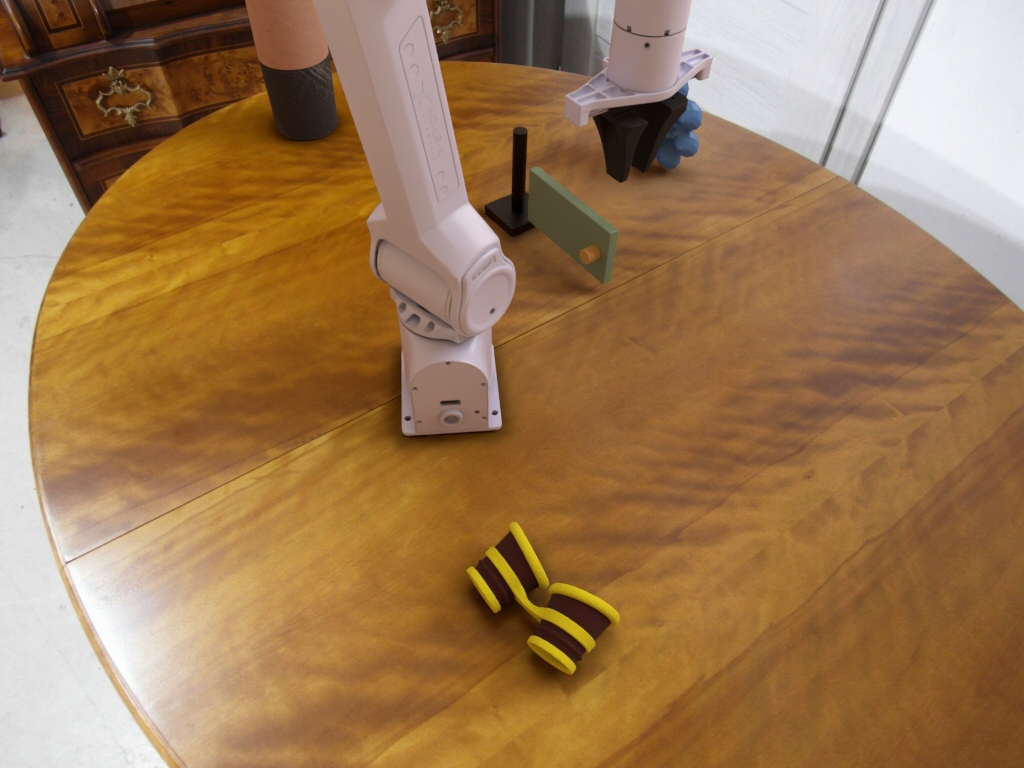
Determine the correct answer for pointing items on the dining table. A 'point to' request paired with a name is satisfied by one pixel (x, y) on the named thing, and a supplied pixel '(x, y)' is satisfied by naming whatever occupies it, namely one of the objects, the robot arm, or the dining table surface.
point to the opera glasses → (562, 622)
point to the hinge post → (514, 191)
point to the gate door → (572, 225)
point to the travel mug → (294, 66)
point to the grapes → (681, 135)
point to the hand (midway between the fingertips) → (627, 172)
